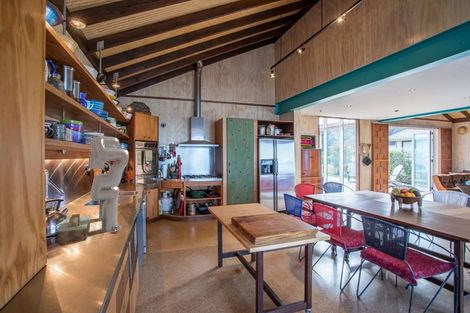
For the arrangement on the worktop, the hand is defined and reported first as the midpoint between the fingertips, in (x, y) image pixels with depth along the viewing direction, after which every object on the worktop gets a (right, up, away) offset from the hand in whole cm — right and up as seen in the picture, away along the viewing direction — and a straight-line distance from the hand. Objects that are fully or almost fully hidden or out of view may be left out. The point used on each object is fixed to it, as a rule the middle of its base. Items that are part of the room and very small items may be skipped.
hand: (95, 175), depth 183 cm
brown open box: (+7, -37, -33) cm, 50 cm away
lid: (+7, -29, -33) cm, 45 cm away
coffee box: (+2, -37, +9) cm, 38 cm away
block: (+11, -36, -41) cm, 55 cm away
